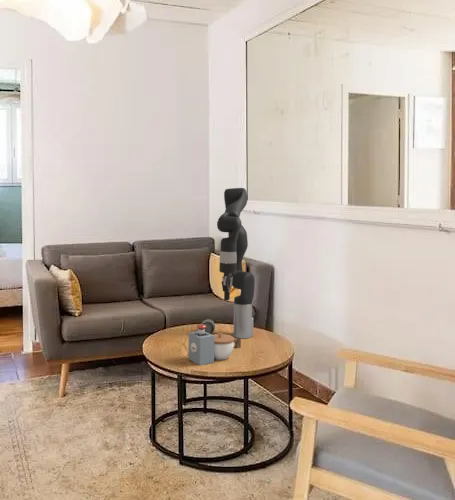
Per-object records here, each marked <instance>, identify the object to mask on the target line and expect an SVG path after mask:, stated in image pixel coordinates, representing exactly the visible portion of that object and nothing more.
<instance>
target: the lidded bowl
mask: <svg viewBox="0 0 455 500" xmlns="http://www.w3.org/2000/svg"><path fill="white" fill-rule="evenodd" d="M212 335H214V360H217V361H219V360H220V361H222V360H227V359H228V358H229V357H230V356H231V354H232V353H233V350H234V348H235V342H234V338H235V337H234V336H233V335H229V334H225V333H224V334H223V333H221V332H219V333H213V334H212Z"/></svg>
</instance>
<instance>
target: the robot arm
mask: <svg viewBox="0 0 455 500" xmlns="http://www.w3.org/2000/svg"><path fill="white" fill-rule="evenodd" d="M223 199H224V206H225V207H224V208H225V211H224V213H222V214H220V216H219V218H218V219H217V222H216V223H217V224H216V227H217V229H218V231H219V232H221V233H227V235H228V236H227V237H222V238H221V239H220V253H219V269H218V270H219V272H220V273H221V274H223V276H222V281H221V286H222V287H221V289H222V292H223V293H224V294H223V300H224V301H230V298H231V297H230V295H231V292H232V291H231V290H232V287H233V288H234V289H235V290H236V289H237V290H240V295H236V296H235V297H234V298H233V334H232V336H233V337H234V338H237V337H239V338H241V339H250V338H251V337H253V336H254V317H253V299H254V297H255V296H254V295H255V285H256V284H255V276H254V274H253V273H251V272H248V271H243V258H244V256H245V254H246V252H247V249H248V246H249V245H248V244H249V242H248V234H247V230H246V228H245V227H244V225H242V220H241V218H240V216H241V214H242V212H243V210H244V209H245V208H246V206H247V204H248V191H247V190H246V189H245V187H237V188H236V187H234V188H231V187H230V188H226V189H225V190H224V193H223Z"/></svg>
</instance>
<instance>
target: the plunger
mask: <svg viewBox="0 0 455 500" xmlns="http://www.w3.org/2000/svg"><path fill="white" fill-rule="evenodd" d="M205 328H206V325H205V324H202V323H200V324H196V329H198V336H199V337H200V336H205Z"/></svg>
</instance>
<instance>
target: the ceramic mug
mask: <svg viewBox="0 0 455 500" xmlns="http://www.w3.org/2000/svg"><path fill="white" fill-rule="evenodd" d="M201 324H205V325H206V328H205V332H207V333H209V334H211V335H213V334H215V333H214V332H215V329H216V324H215V322H214V321H213V320H212V319H209V318H208V319H204V320H203V321H202V323H201ZM197 331H198V328H196V329H195V330H194V331H193V332H197Z"/></svg>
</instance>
